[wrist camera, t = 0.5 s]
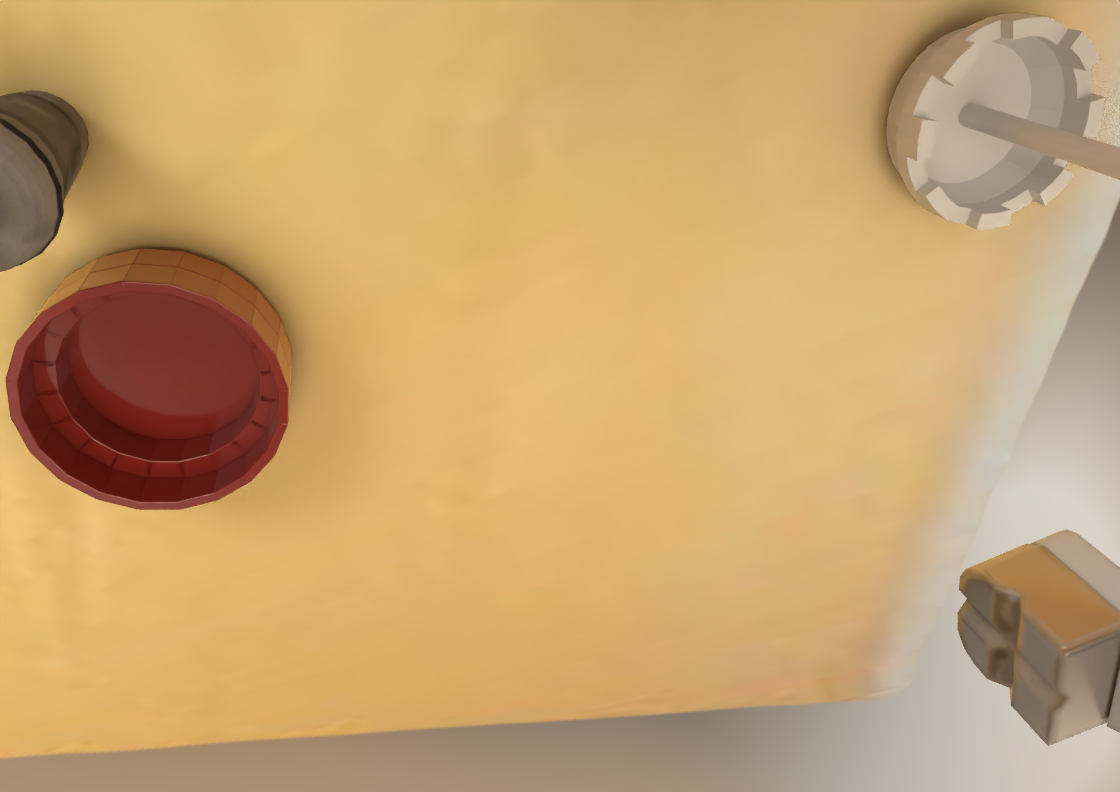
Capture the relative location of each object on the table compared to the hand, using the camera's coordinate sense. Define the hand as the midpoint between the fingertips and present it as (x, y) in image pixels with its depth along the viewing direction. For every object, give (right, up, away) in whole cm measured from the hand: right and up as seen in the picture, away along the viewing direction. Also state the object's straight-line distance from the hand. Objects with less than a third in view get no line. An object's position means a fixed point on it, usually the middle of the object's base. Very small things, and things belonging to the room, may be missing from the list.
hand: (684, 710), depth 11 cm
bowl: (-26, +6, +44) cm, 52 cm away
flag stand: (+26, +23, +49) cm, 60 cm away
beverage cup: (-30, +18, +37) cm, 51 cm away
